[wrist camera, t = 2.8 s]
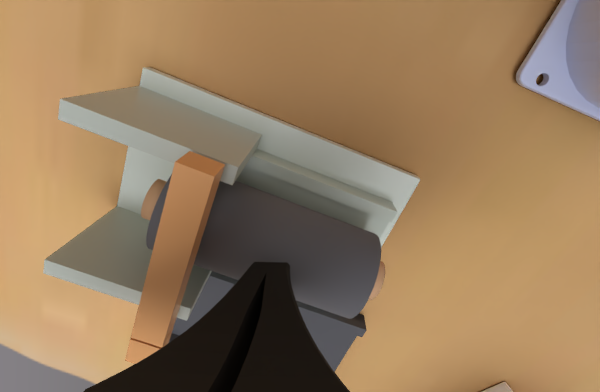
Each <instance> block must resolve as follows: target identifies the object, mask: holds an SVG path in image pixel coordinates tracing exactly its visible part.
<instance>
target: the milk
mask: <svg viewBox="0 0 600 392" xmlns="http://www.w3.org/2000/svg"><path fill="white" fill-rule="evenodd" d="M481 392H513V391H512V389H511V388H510V387H509V386H508V384H507V383H506V382H502V383H500V384H498V385H495V386H493V387H491V388H488V389H486V390H484V391H481Z"/></svg>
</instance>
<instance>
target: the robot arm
mask: <svg viewBox="0 0 600 392" xmlns="http://www.w3.org/2000/svg"><path fill="white" fill-rule="evenodd" d="M540 74H542V75H543V81H542V82H541V83H540V84H539V85H537V84H536V79H537V77H538V76H539V75H540ZM516 81H517V83H518V84H519V85H520V86H522V87H525V88H527V89H529V90H531V91H533V92H536V93H538V94H540V95H542V96H545V97H547V98H549V99H551V100H553V101H556V102H558V103H560V104H562V105H565V106H567V107H569V108H571V109H573V110H576V111H578V112H580V113H582V114H585V115H587V116H589V117H591V118H593V119H596V120H598V121H600V0H561V2H560V3H559V5H558V6H557V8H556V10H555V11H554V13H553V14H552V16H551V18H550V19H549V21H548V23H547V24H546V26H545V27H544V29H543V31H542V32H541V34H540V35H539V37H538V39H537V40H536V42H535V44H534V45H533V47H532V48H531V50H530V52H529V53H528V55H527V56H526V58H525V60H524V61H523V63H522V65H521V66H520V68H519V69H518V71H517V74H516ZM84 392H350V391H349V390H348V389H347V388H346V386H345V385H344V384H343V383H342V381H341V380H340V379H339V378H338V376H337V375H336V374H335V372H334V371H333V370H332V368H331V367H330V365H329V364H328V362H327V361H326V359H325V358H324V356H323V355H322V353H321V352H320V350H319V349H318V347H317V345H316V343H315V342H314V340H313V338H312V336H311V334H310V332H309V331H308V329H307V327H306V324H305V322H304V320H303V318H302V315H301V313H300V310H299V308H298V305H297V302H296V299H295V296H294V293H293V289H292V285H291V278H290V265H289V264H288V263H287V262H254V263H253V264H251V266H250V267H249V268H248V269H247V271H246V272H245V273H244V274H243V276H242V277H241V278H240V279H239V280H238V281H237V283H236V284H235V285H234V286H233V287H232V288H231V289H230V290H229V291H228V293H227V294H226V295H225V296H224V297H223V298H222V299H221V300H220V301H219V302H218V303H217V304H216V305H215V306H214V307H213V308H212V309H211V310H210V311H209V312H208V313H206V314H205V315H204V316H203V317H202V318H201V319H200V320H199V321H197V322H196V323H195V324H194V325H193V326H191V327H190V328H189V329H188V330H186V331H185V332H184V333H182V334H181V335H180V336H178V337H177V338H175V339H174V340H172V341H171V342H170V343H168V344H167V345H165V346H164V347H162V348H161V349H159V350H158V351H156V352H155V353H153V354H151V355H150V356H148V357H147V358H145V359H143V360H141V361H140V362H138V363H136V364H134V365H133V366H131V367H129V368H127V369H126V370H124V371H122V372H120V373H118V374H116V375H114V376H112V377H110V378H108V379H106V380H104V381H102V382H100V383H98V384H96V385H94V386H92V387H90V388H87V389H86V390H85V391H84Z"/></svg>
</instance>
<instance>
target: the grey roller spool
mask: <svg viewBox="0 0 600 392" xmlns="http://www.w3.org/2000/svg"><path fill="white" fill-rule="evenodd" d="M171 176H172V174H171ZM171 176H170V177H169V179H168V181H167V182H166V181H164V180H161V179H158V180H156V181H155V182H154V183H153V184H152V186H151V187H150V189H149V190H148V192H147V194H146V196H145V199H144V201H143V204H142V208H141V217H142V218H144V219H147V220H150V222H149V226H148V230H147V236H146V245H147V247H148V249H151V250H153V247H154V243H155V239H156V235H157V231H158V227H159V223H160V219H161V215H162V211H163V207H164V203H165V199H166V196H167V192H168V188H169V184H170V180H171ZM380 260H381V243H380V239H379V237H378V236H377V235H376V234H374V233H372V232H369V231H367V230H364V229H361V228H359V227H356V226H353V225H351V224H348V223H346V222H343V221H340V220H338V219H335V218H332V217H330V216H327V215H325V214H322V213H319V212H317V211H314V210H311V209H309V208H306V207H304V206H301V205H298V204H296V203H293V202H290V201H288V200H285V199H283V198H280V197H277V196H275V195H272V194H269V193H267V192H264V191H262V190H259V189H256V188H254V187H251V186H248V185H246V184H243V183H241V182H238V181H235V182H234V184H233V185H230V184H227V183H225V182H222V181H220V182H219V185H218V189H217V192H216V195H215V198H214V201H213V204H212V207H211V211H210V214H209V217H208V220H207V223H206V226H205V230H204V233H203V236H202V239H201V242H200V245H199V249H198V252H197V255H196V258H195V261H194V264H193V265H196V266H199V267H202V268H205V269H208V270H211V271H213V272H216V273H219V274H222V275H225V276H228V277H231V278H233V279H236V280H239V279H240V278H241V277H242V276H243V274H244V273H245V272H246V271H247V269H248V268H249V267H250V266H251V264H253V263H254V262H287V263H288V264H289V265H290V278H291V285H292V289H293V293H294V296H295V299H296V301H299V302H302V303H305V304H308V305H311V306H313V307H316V308H319V309H322V310H325V311H328V312H331V313H333V314H336V315H339V316H342V317H345V318H348V319H352V318H354V317H355V316H357V315H358V314H359V313H360V311H361V310H362V309H363V307H364V306H365V304H366V303H367V301H368V299H370V300H372V299H374V298H375V297H376V296H377V295H378V294H379V292H380V290H381V288H382V285H383V282H384V278H385V265H384V263H383V262H381V261H380Z"/></svg>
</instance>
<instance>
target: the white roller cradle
mask: <svg viewBox="0 0 600 392" xmlns="http://www.w3.org/2000/svg"><path fill="white" fill-rule="evenodd" d="M58 120H61V121H64V122H66V123H69V124H72V125H74V126H77V127H80V128H82V129H85V130H87V131H90V132H93V133H95V134H98V135H101V136H103V137H106V138H109V139H111V140H114V141H116V142H119V143H122V144H124V145H127V146H128V150H127V156H126V161H125V166H124V172H123V177H122V182H121V188H120V193H119V198H118V204H117V206H116V207H115V208H114V209H112V210H111V211H110V212H108V213H107V214H106V215H104V216H103V217H101V218H100V219H99V220H97V221H96V222H95V223H93V224H92V225H91V226H89V227H88V228H87V229H85V230H84V231H83V232H81V233H80V234H79V235H77V236H76V237H75V238H73V239H72V240H70V241H69V242H68V243H66V244H65V245H64V246H62V247H61V248H60V249H58V250H57V251H56V252H54V253H53V254H52V255H50V256H49V257H48V258H46V259H45V262H44V272H43V273H44V274H47V275H50V276H53V277H56V278H59V279H62V280H65V281H68V282H71V283H74V284H77V285H80V286H83V287H86V288H90V289H93V290H96V291H99V292H102V293H105V294H108V295H111V296H114V297H117V298H120V299H123V300H126V301H129V302H132V303H135V304H138V305H139V303H140V299H141V295H142V291H143V287H144V283H145V279H146V275H147V271H148V267H149V263H150V259H151V255H152V251H153V250H151V249H148V247H147V245H146V236H147V230H148V226H149V222H150V220H147V219H144V218H142V217H141V208H142V204H143V201H144V199H145V196H146V194H147V192H148V190H149V189H150V187H151V186H152V184H153V183H154V182H155V181H156V180H158V179H161V180H164V181H166V182H167V181H168V179H169V177H170V176H171V174H172V172H173V168H174V164H175V161H177V160H178V159H179V158H181V157H182V156H184V155H185V154H186V153H188V152H189V151H191V152H194V153H197V154H199V155H202V156H204V157H207V158H210V159H212V160H215V161H217V162H220V163H223V164H225V166H224V170H223V173H222V176H221V179H220V181H222V182H225V183H227V184H230V185H233V184H234V182H235V181H238V182H241V183H243V184H246V185H248V186H251V187H254V188H256V189H259V190H262V191H264V192H267V193H269V194H272V195H275V196H277V197H280V198H283V199H285V200H288V201H290V202H293V203H296V204H298V205H301V206H304V207H306V208H309V209H311V210H314V211H317V212H319V213H322V214H325V215H327V216H330V217H332V218H335V219H338V220H340V221H343V222H346V223H348V224H351V225H353V226H356V227H359V228H361V229H364V230H367V231H369V232H372V233H374V234H376V235H377V236H378V237H379V239H380V243H381V247H382V245H383V244H384V242H385V240H386V238H387V237H388V235H389V233H390V231H391V230H392V228H393V226H394V225H395V223H396V221H397V219H398V218H399V216H400V214H401V212H402V211H403V209H404V207H405V206H406V204H407V202H408V200H409V199H410V197H411V195H412V194H413V192H414V190H415V188H416V187H417V185H418V183H419V181H420V178H419V177H418V176H417V175H415V174H412V173H410V172H407V171H405V170H402V169H400V168H397V167H395V166H392V165H390V164H387V163H385V162H382V161H380V160H378V159H375V158H373V157H370V156H368V155H365V154H363V153H360V152H358V151H355V150H353V149H350V148H348V147H345V146H343V145H341V144H338V143H336V142H333V141H331V140H328V139H326V138H323V137H321V136H318V135H316V134H313V133H311V132H308V131H306V130H304V129H301V128H299V127H296V126H294V125H291V124H289V123H286V122H284V121H281V120H279V119H276V118H274V117H272V116H269V115H267V114H264V113H262V112H259V111H257V110H254V109H252V108H249V107H247V106H244V105H242V104H239V103H237V102H235V101H232V100H230V99H227V98H225V97H222V96H220V95H217V94H215V93H212V92H210V91H207V90H205V89H202V88H200V87H198V86H195V85H193V84H190V83H188V82H185V81H183V80H180V79H178V78H175V77H173V76H170V75H168V74H165V73H163V72H161V71H158V70H156V69H153V68H151V67H143V70H142V76H141V81H140V86H135V87H129V88H123V89H117V90H111V91H105V92H99V93H92V94H86V95H80V96H74V97H68V98H62V99H60V106H59V116H58ZM211 272H212V271H211V270H208V269H205V268H202V267H199V266H196V265H193V267H192V271H191V274H190V277H189V280H188V283H187V286H186V290H185V293H184V296H183V299H182V302H181V305H180V308H179V312H178V315H177V318H180V319H183V320H186V321H187V320H188V318H189V316H190V314H191V312H192V310H193V308H194V306H195V304H196V302H197V300H198V298H199V296H200V294H201V292H202V290H203V288H204V286H205V284H206V282H207V280H208V278H209V276H210V274H211Z"/></svg>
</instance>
